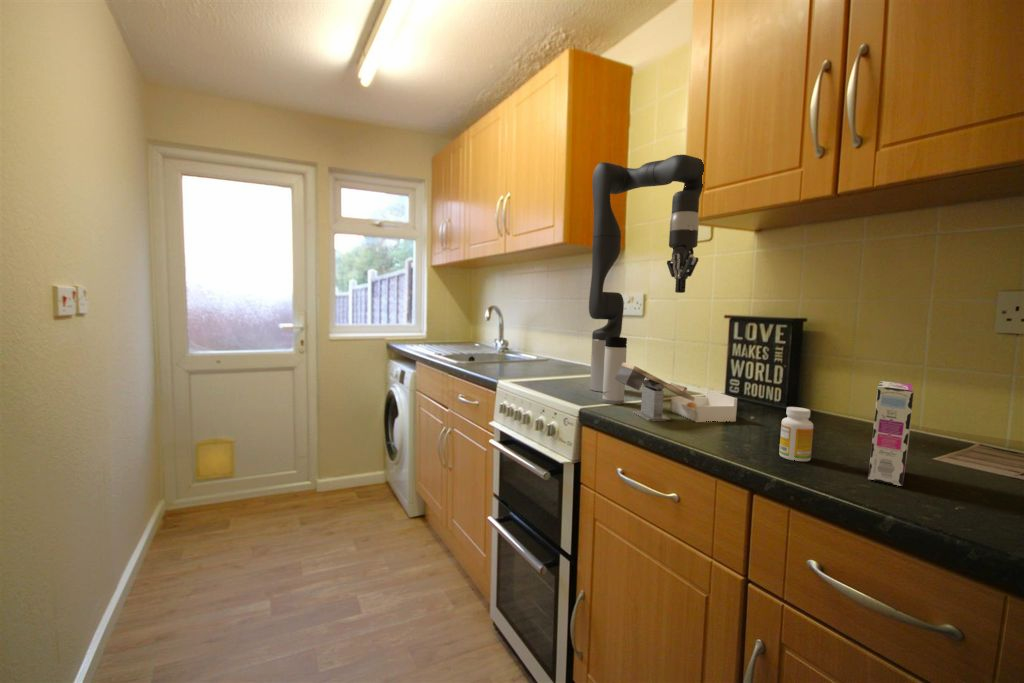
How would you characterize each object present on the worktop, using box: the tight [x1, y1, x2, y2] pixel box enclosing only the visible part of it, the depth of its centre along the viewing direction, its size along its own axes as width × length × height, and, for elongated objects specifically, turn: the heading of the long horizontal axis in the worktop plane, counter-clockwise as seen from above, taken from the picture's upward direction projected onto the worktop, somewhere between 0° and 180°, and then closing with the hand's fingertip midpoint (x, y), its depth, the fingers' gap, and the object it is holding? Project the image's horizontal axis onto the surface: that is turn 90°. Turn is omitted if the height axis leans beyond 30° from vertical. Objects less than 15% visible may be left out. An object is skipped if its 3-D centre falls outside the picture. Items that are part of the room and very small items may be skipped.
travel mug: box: [602, 336, 628, 405], centre depth 140 cm, size 6×7×20 cm
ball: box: [686, 402, 697, 409], centre depth 126 cm, size 3×3×3 cm
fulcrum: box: [632, 378, 672, 422], centre depth 123 cm, size 9×6×9 cm, turn 11°
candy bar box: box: [867, 380, 915, 487], centre depth 83 cm, size 11×5×16 cm, turn 141°
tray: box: [670, 389, 738, 423], centre depth 126 cm, size 12×11×6 cm
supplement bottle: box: [778, 406, 814, 462], centre depth 93 cm, size 5×5×10 cm
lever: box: [615, 362, 696, 401], centre depth 123 cm, size 19×7×6 cm, turn 101°
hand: (680, 292), depth 133 cm, fingers closed
